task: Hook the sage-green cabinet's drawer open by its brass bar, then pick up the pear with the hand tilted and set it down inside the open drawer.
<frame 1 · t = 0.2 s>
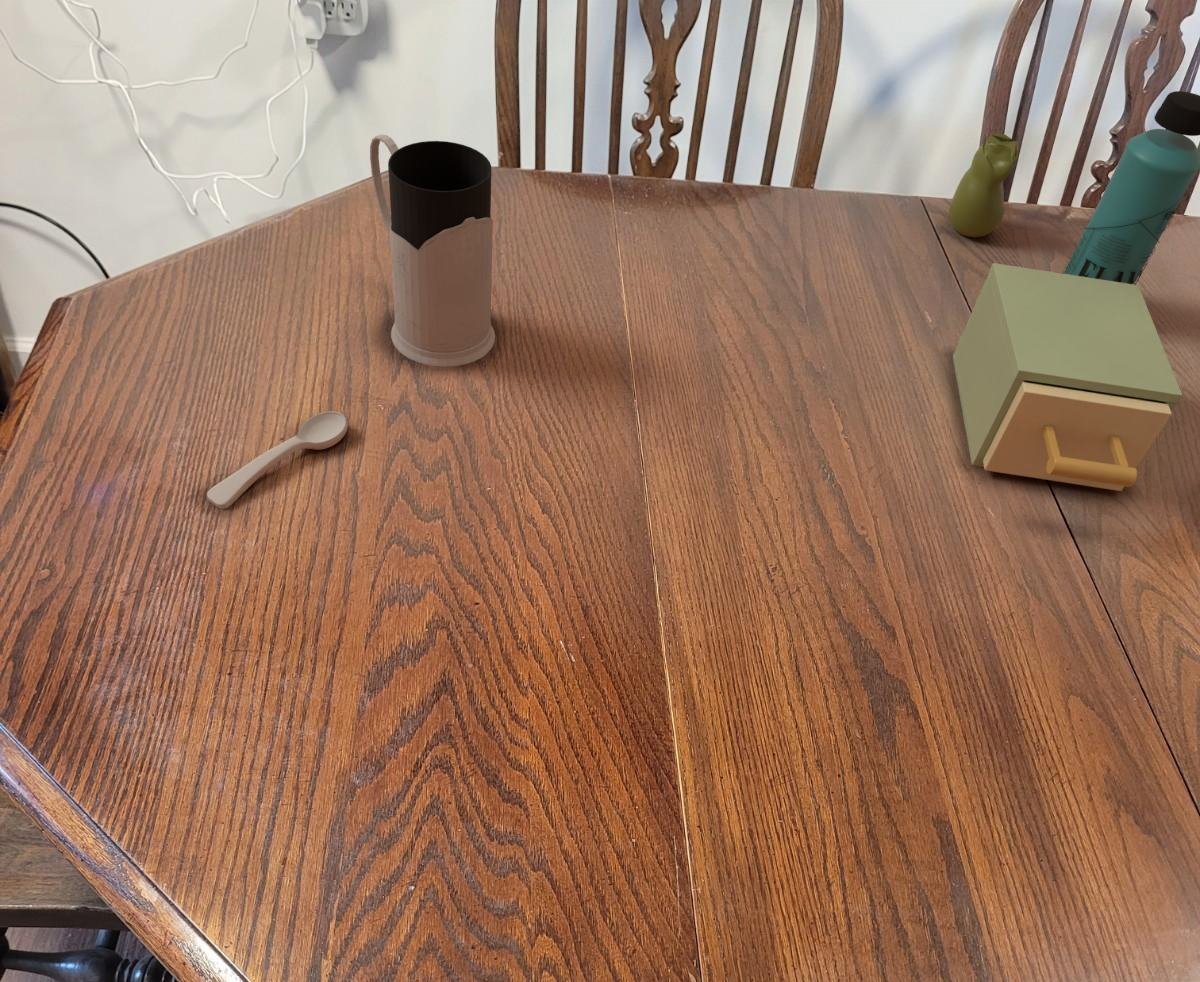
glass holder: (425, 322, 89), on the table
spoon: (282, 468, 76), on the table
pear: (966, 234, 108), on the table
beverage bottle: (1081, 310, 101), on the table
cabinet: (1031, 421, 88), on the table
drawer: (1064, 407, 82), point 5 cm above the table, slide at 0.0 cm
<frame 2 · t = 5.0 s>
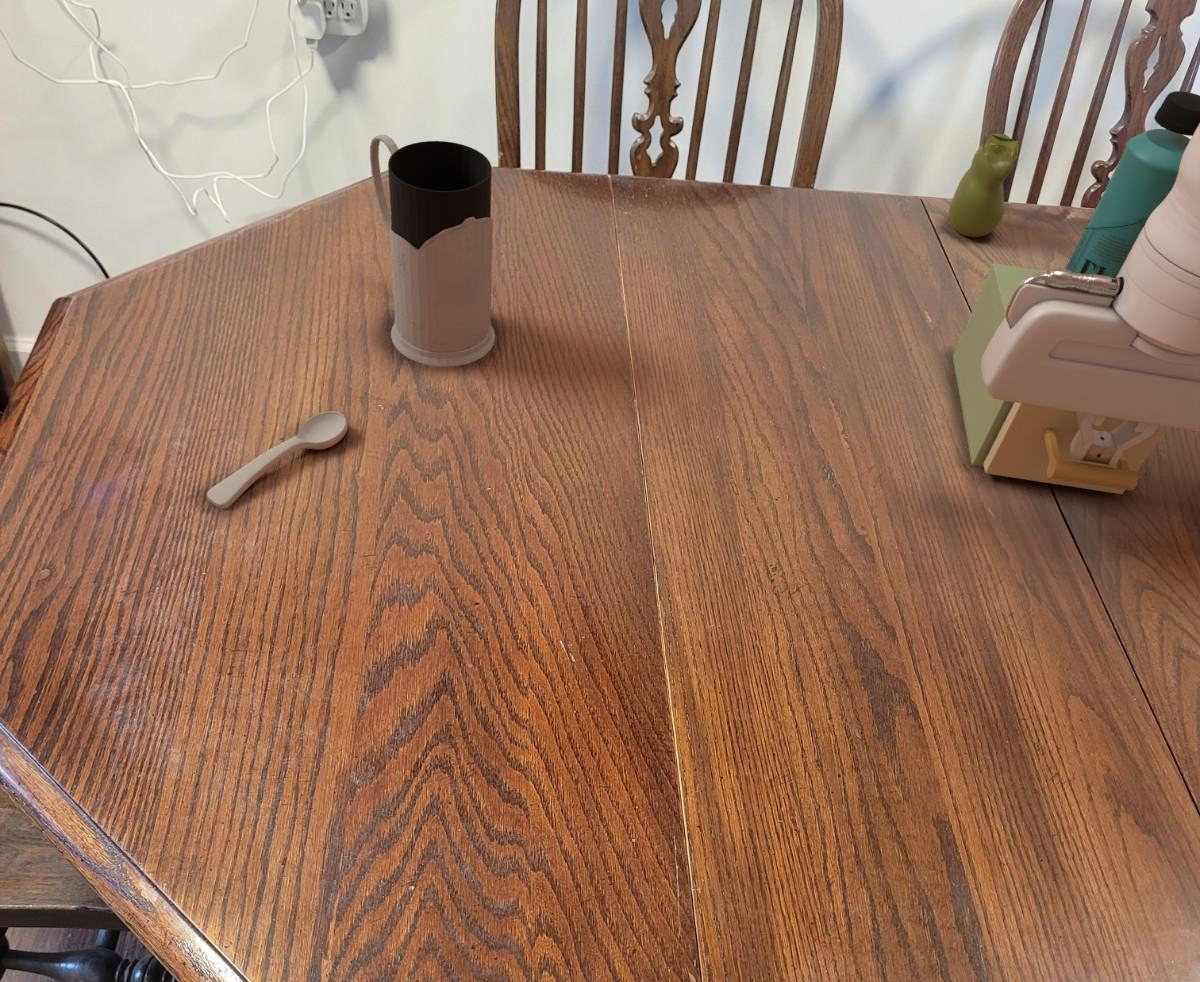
hand: (1090, 457, 76), 6 cm above the table, tool pointing down, fingers closed, pressing on drawer
drawer: (1065, 410, 82), point 5 cm above the table, slide at 0.4 cm, touching gripper
everything else where it was.
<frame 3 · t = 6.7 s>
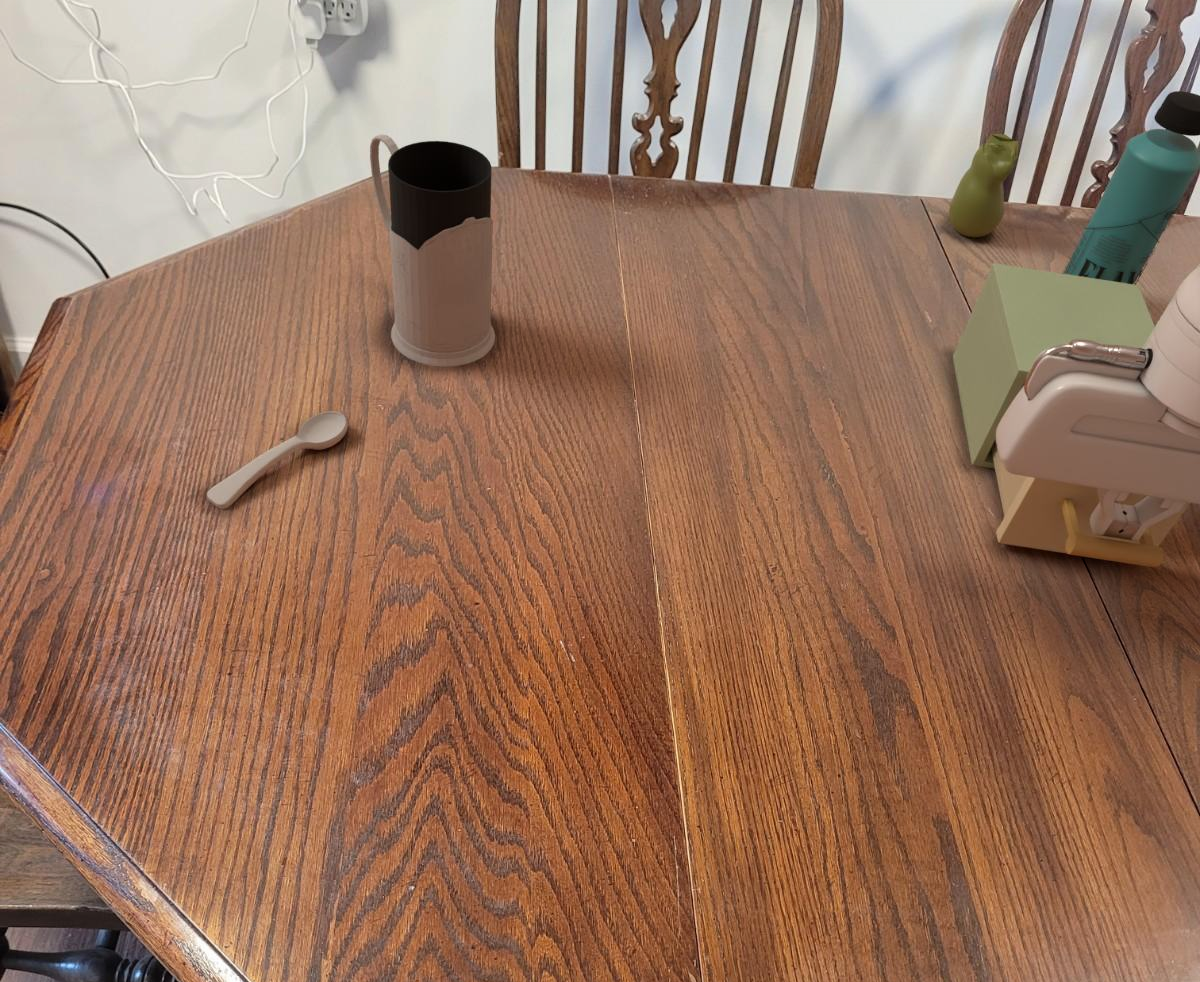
hand: (1111, 531, 71), 6 cm above the table, tool pointing down, fingers closed, pressing on drawer
drawer: (1084, 476, 77), point 5 cm above the table, slide at 8.0 cm, touching gripper
everything else where it was.
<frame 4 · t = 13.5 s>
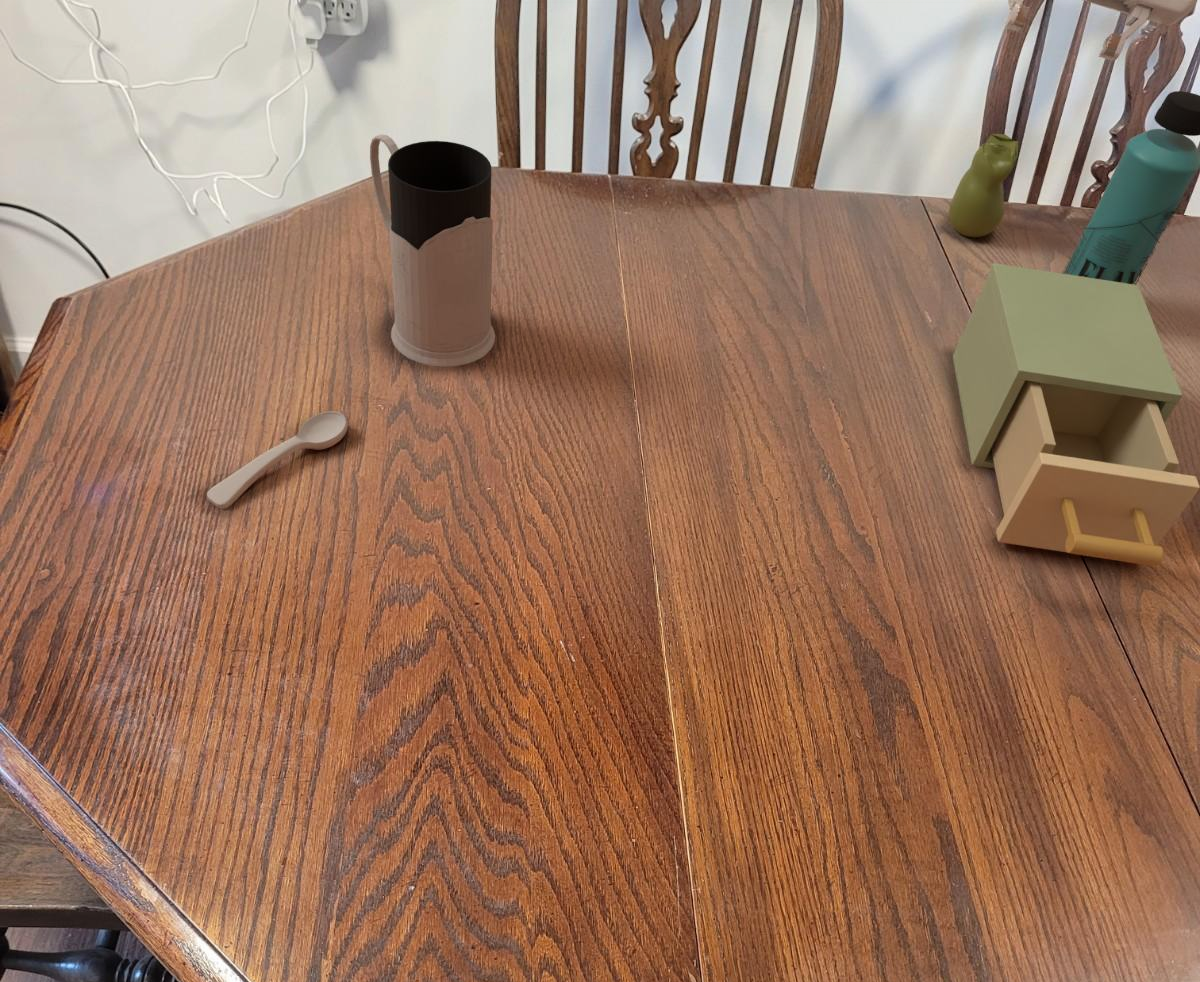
hand: (1060, 42, 100), 16 cm above the table, tool tilted 40°, fingers open, 8 cm apart
drawer: (1083, 475, 77), point 5 cm above the table, slide at 7.9 cm
everything else where it was.
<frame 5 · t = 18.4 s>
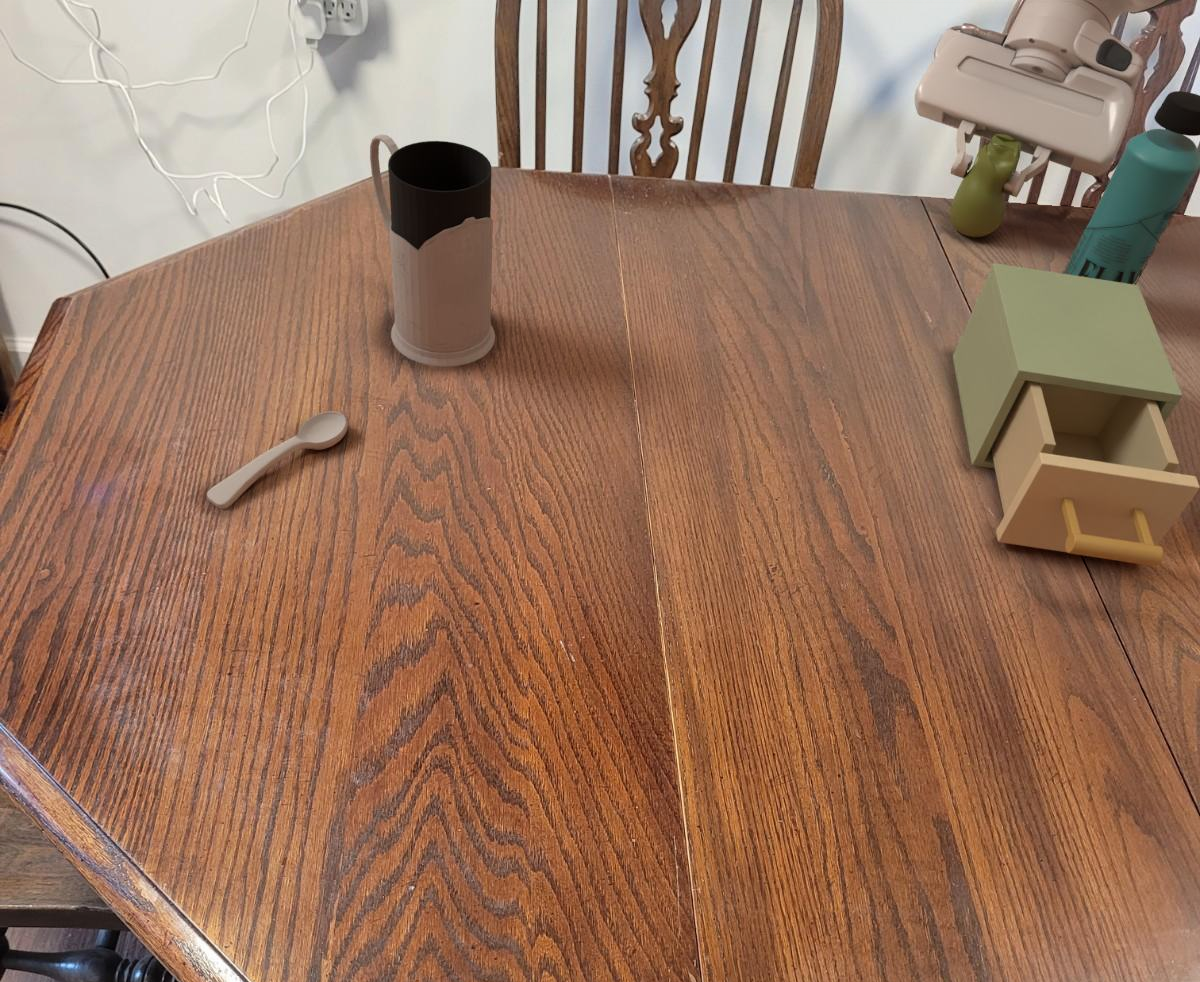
hand: (983, 183, 103), 6 cm above the table, tool tilted 45°, fingers closed on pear, 4 cm apart
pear: (967, 234, 108), on the table, touching gripper
everything else where it was.
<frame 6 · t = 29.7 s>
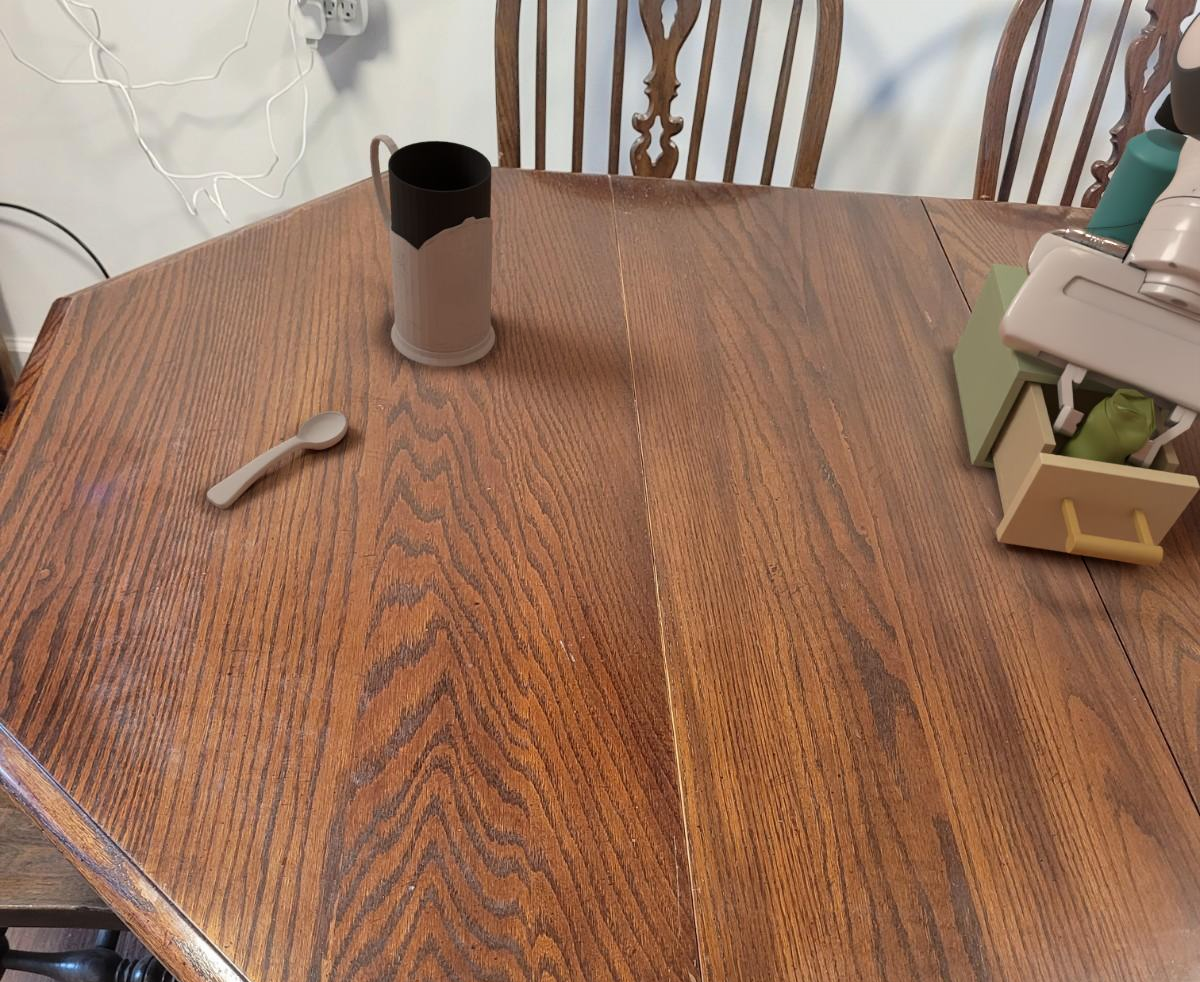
hand: (1098, 450, 74), 8 cm above the table, tool tilted 45°, fingers closed on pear, 4 cm apart
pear: (1068, 504, 79), point 2 cm above the table, touching gripper
drawer: (1083, 475, 77), point 5 cm above the table, slide at 7.9 cm, touching gripper
everything else where it was.
when the fingers open (9 cm above the table, at t = 39.1 s): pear drops 2 cm, resting on drawer.
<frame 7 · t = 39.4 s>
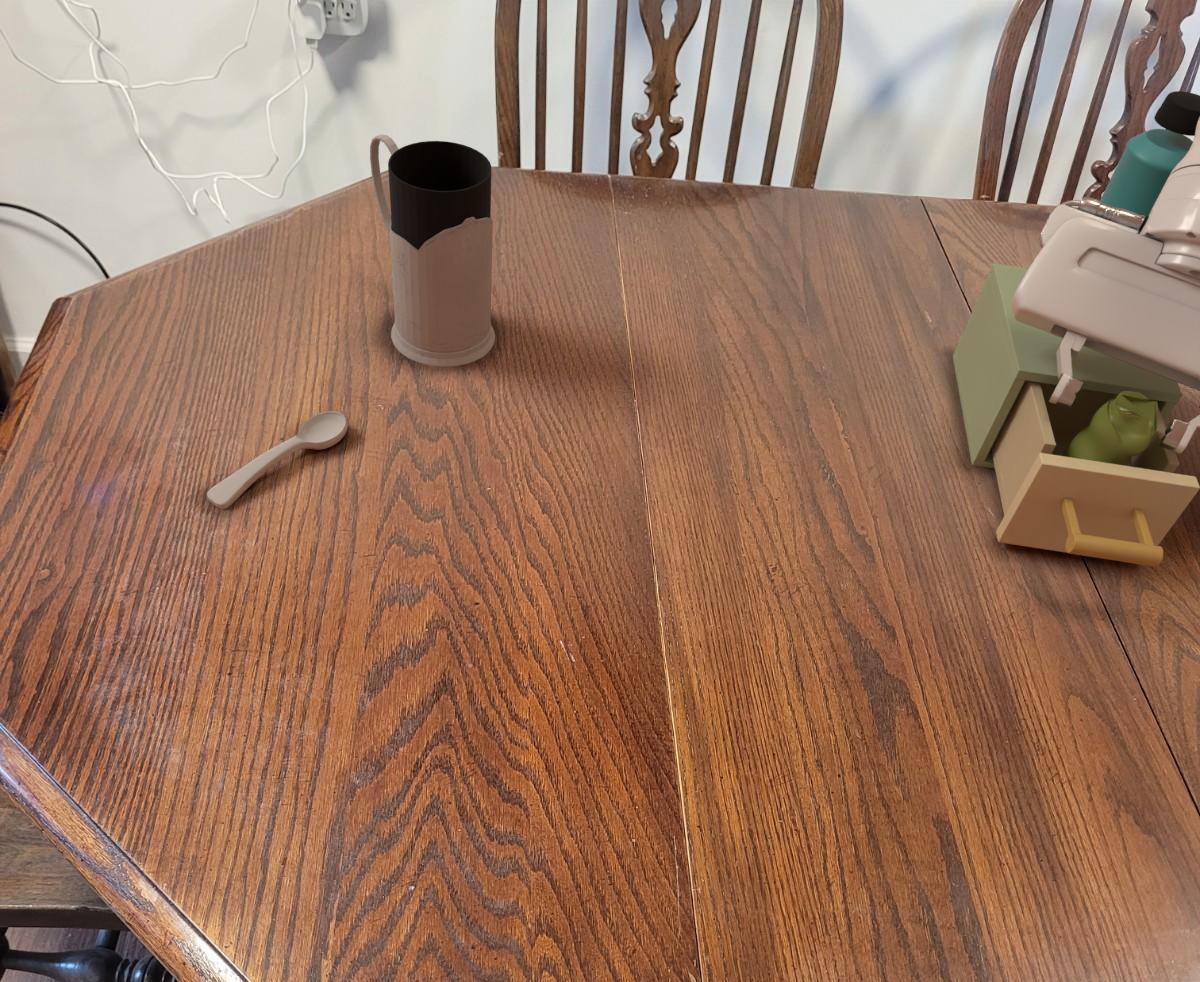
hand: (1114, 426, 73), 10 cm above the table, tool tilted 45°, fingers open, 6 cm apart
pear: (1074, 507, 79), point 2 cm above the table, touching drawer
drawer: (1083, 475, 77), point 5 cm above the table, slide at 7.9 cm, touching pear
everything else where it was.
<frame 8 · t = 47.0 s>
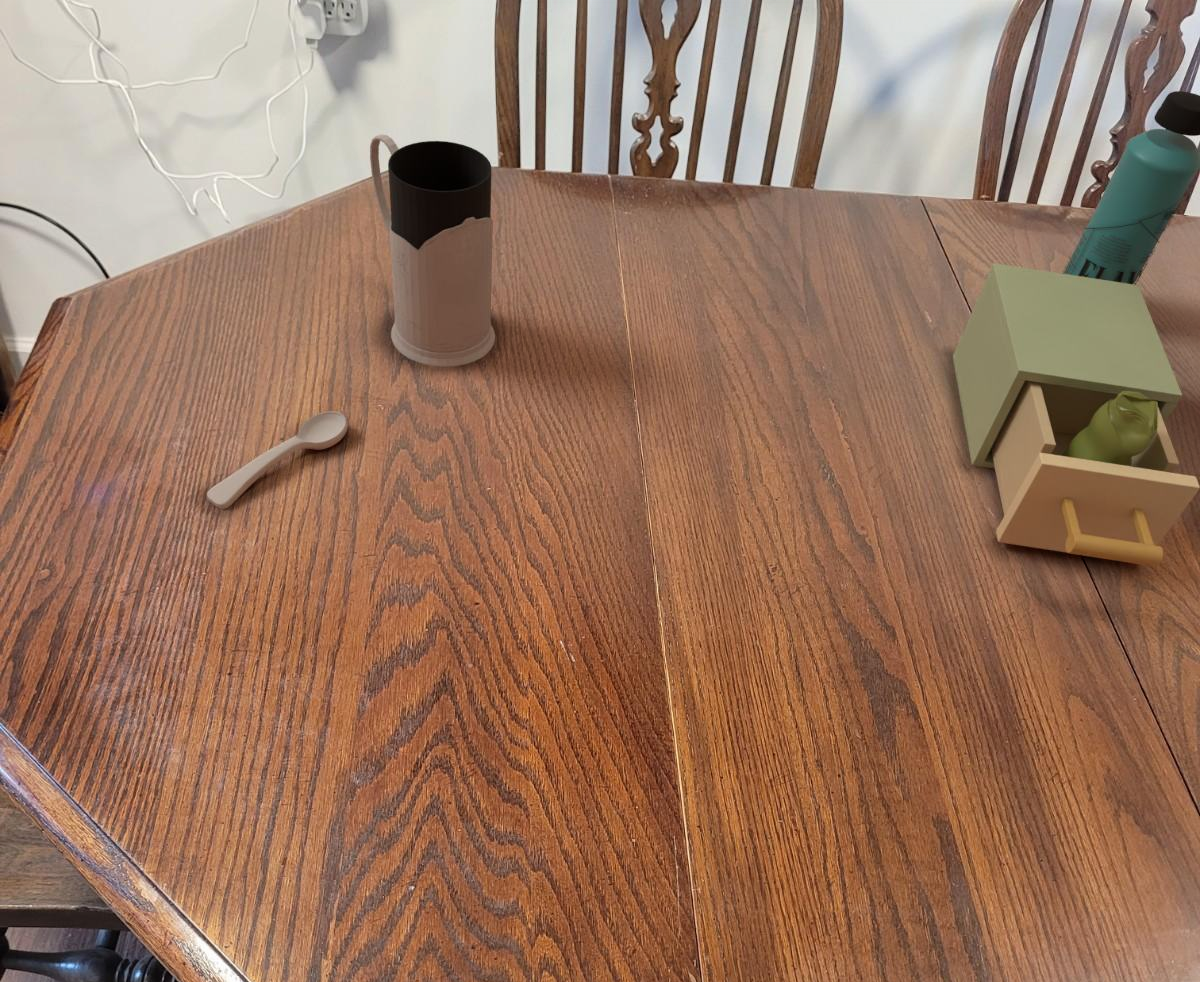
nothing on the table moved.
at the end: drawer slide at 7.9 cm; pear inside the target area in the drawer (1.0 cm from its centre), point 1.8 cm above the cabinet's base; the gripper is holding nothing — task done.
